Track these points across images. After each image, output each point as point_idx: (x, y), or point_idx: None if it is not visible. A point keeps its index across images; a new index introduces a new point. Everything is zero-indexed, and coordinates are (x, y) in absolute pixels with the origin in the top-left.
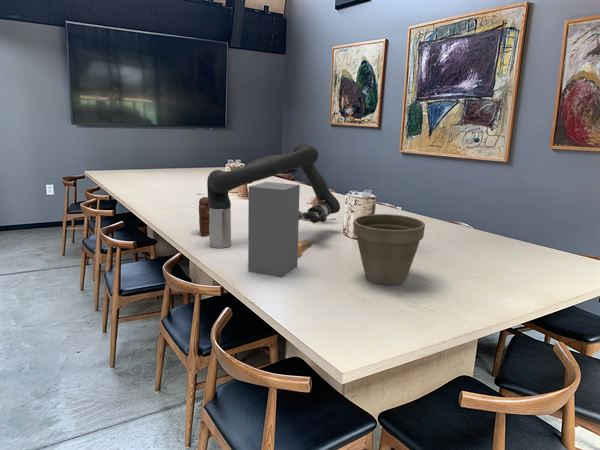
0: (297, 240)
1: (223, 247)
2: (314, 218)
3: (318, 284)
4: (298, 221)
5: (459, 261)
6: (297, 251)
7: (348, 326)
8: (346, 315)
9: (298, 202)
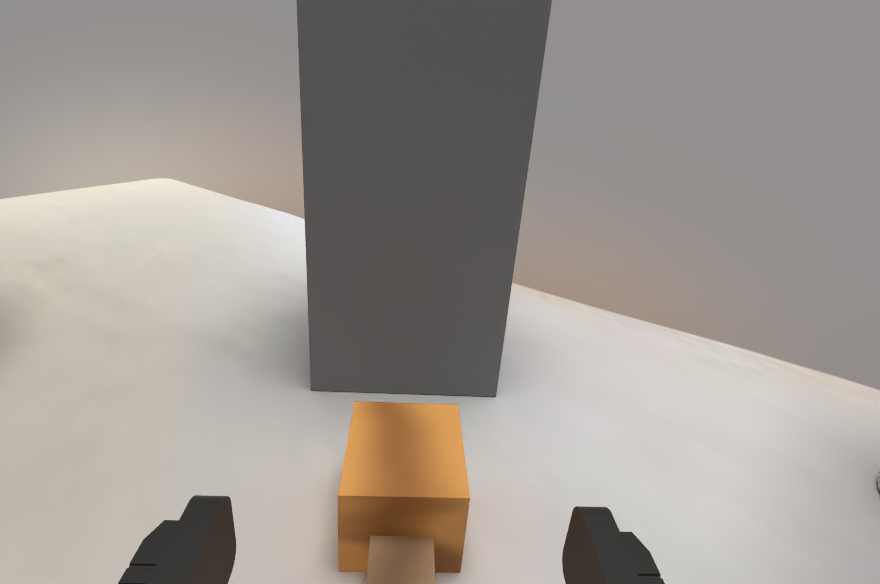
0: (308, 255)
1: (877, 477)
2: (196, 499)
3: (194, 298)
4: (302, 143)
5: None
6: (309, 316)
7: (133, 212)
8: (128, 227)
9: (299, 5)
